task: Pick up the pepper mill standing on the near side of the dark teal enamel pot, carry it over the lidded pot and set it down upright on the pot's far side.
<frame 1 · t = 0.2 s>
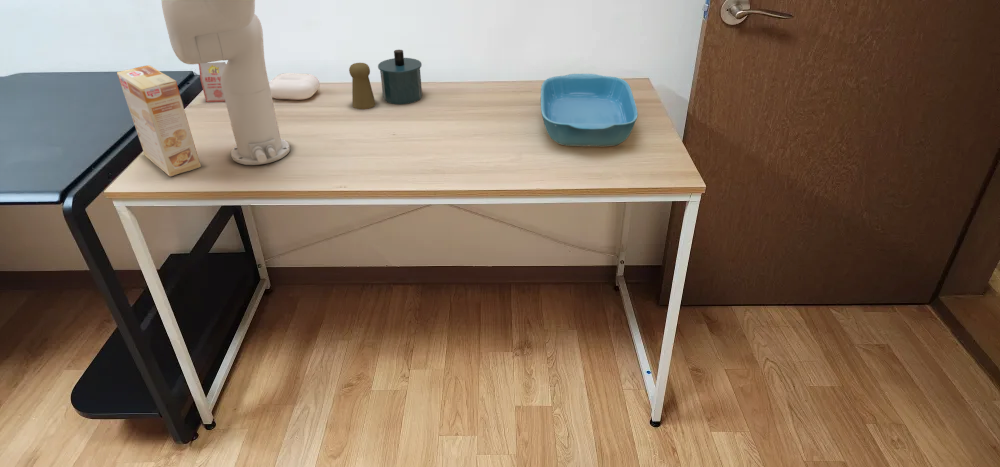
casserole dish: (585, 124, 158), on the table
pot lid: (399, 66, 169), point 8 cm above the table, touching pot
coffeecake box: (172, 162, 143), on the table
earbud case: (295, 96, 176), on the table
pepper mill: (364, 105, 170), on the table
tea bag: (221, 99, 174), on the table
pot: (402, 97, 174), on the table
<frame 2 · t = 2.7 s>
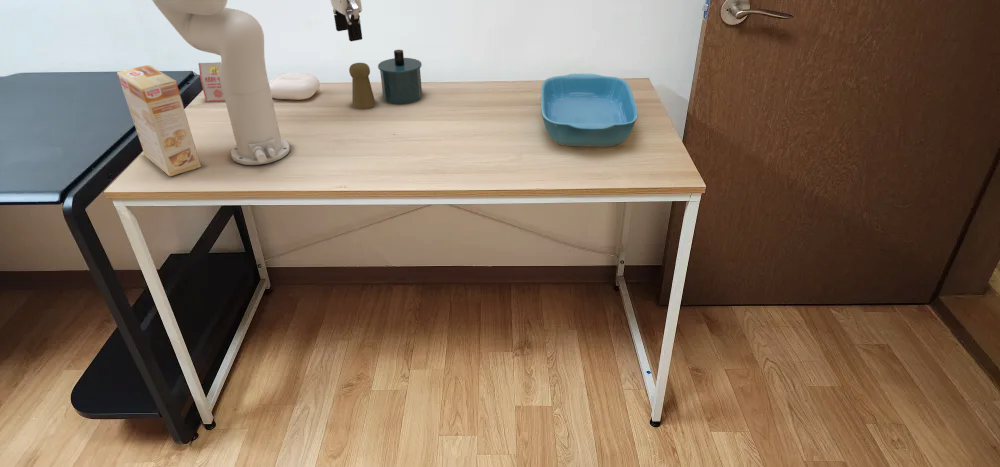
hand: (349, 35, 159), 18 cm above the table, tool pointing down, fingers open, 9 cm apart
nothing on the table moved.
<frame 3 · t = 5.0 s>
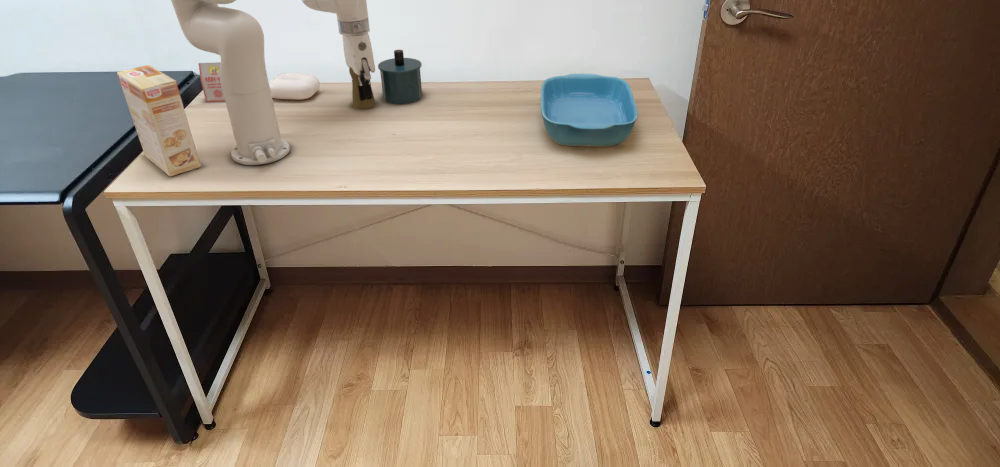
hand: (362, 95, 168), 3 cm above the table, tool pointing down, fingers closed on pepper mill, 4 cm apart
pepper mill: (364, 105, 170), on the table, touching gripper
everything else where it was.
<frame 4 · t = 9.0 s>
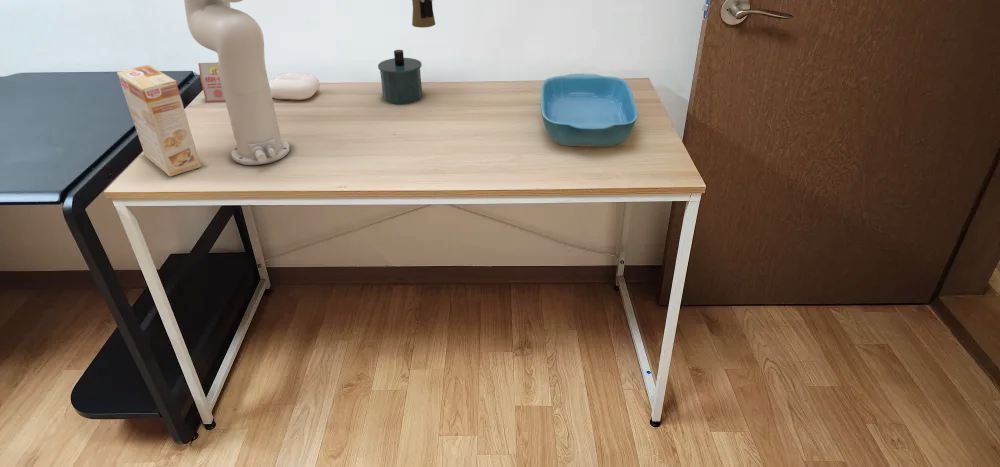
hand: (423, 14, 166), 21 cm above the table, tool pointing down, fingers closed on pepper mill, 4 cm apart
pepper mill: (423, 25, 167), point 18 cm above the table, touching gripper
everything else where it was.
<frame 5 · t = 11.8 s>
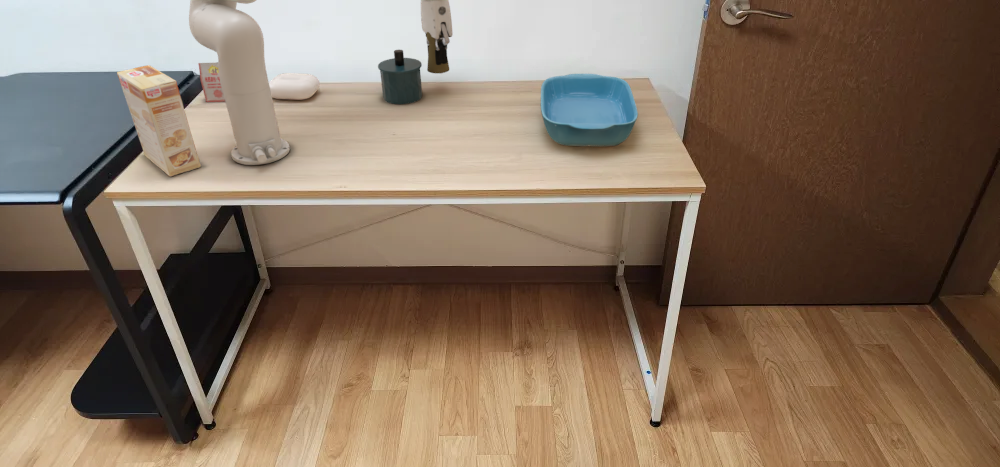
hand: (437, 60, 174), 8 cm above the table, tool pointing down, fingers closed on pepper mill, 4 cm apart
pepper mill: (438, 70, 176), point 5 cm above the table, touching gripper
everything else where it was.
when the fingers open (2 cm above the table, at t = 13.4 s): pepper mill stays where it is, on the table.
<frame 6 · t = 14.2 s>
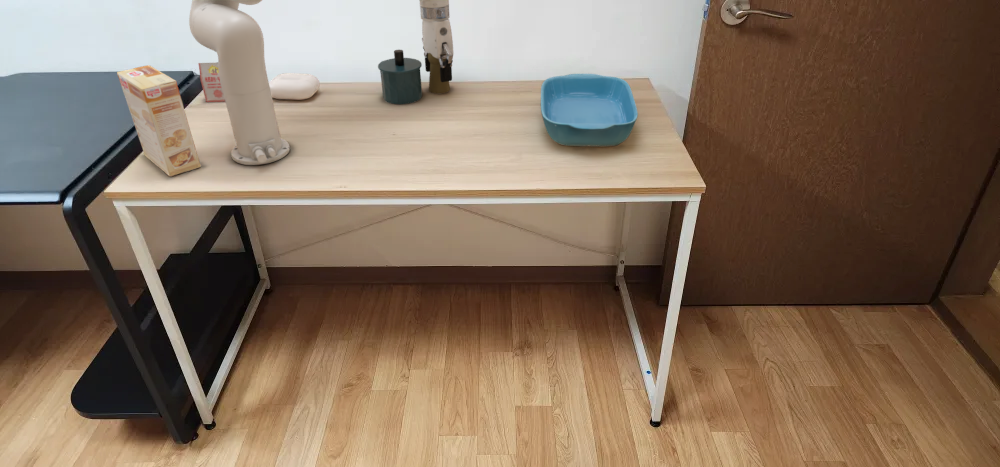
hand: (438, 75, 176), 4 cm above the table, tool pointing down, fingers open, 9 cm apart
pepper mill: (439, 90, 179), on the table
everything else where it was.
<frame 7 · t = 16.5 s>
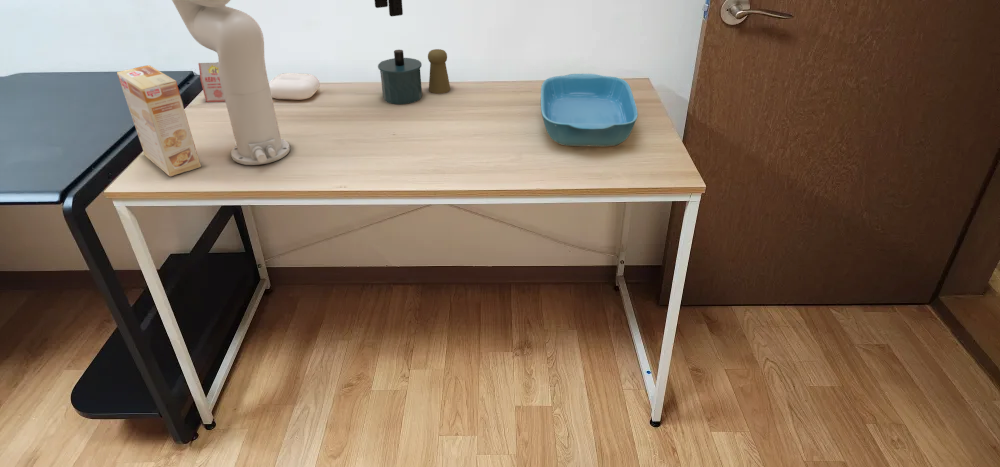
hand: (388, 11, 157), 24 cm above the table, tool pointing down, fingers open, 9 cm apart
nothing on the table moved.
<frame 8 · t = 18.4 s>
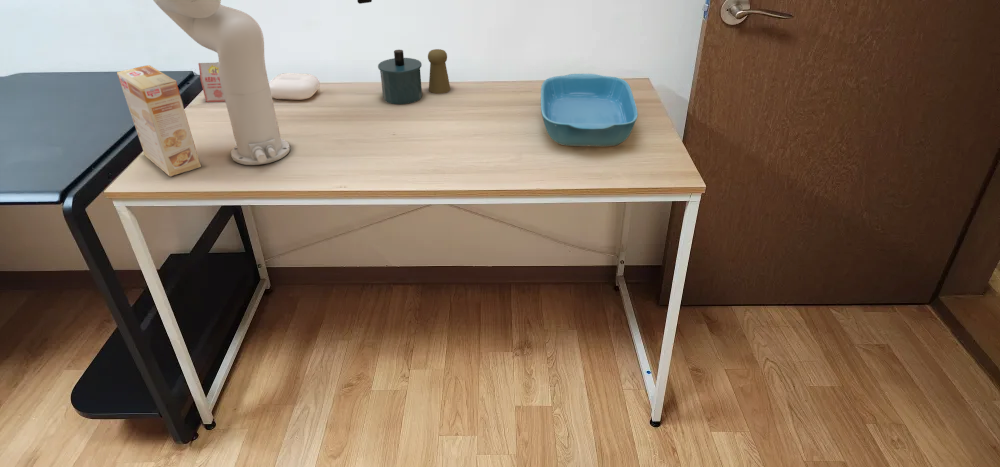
nothing on the table moved.
at the end: pepper mill inside the target area on the table beside the pot (0.6 cm from its centre), on the table; pepper mill tilted 0°; pot lid moved 0.1 cm from its start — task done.
